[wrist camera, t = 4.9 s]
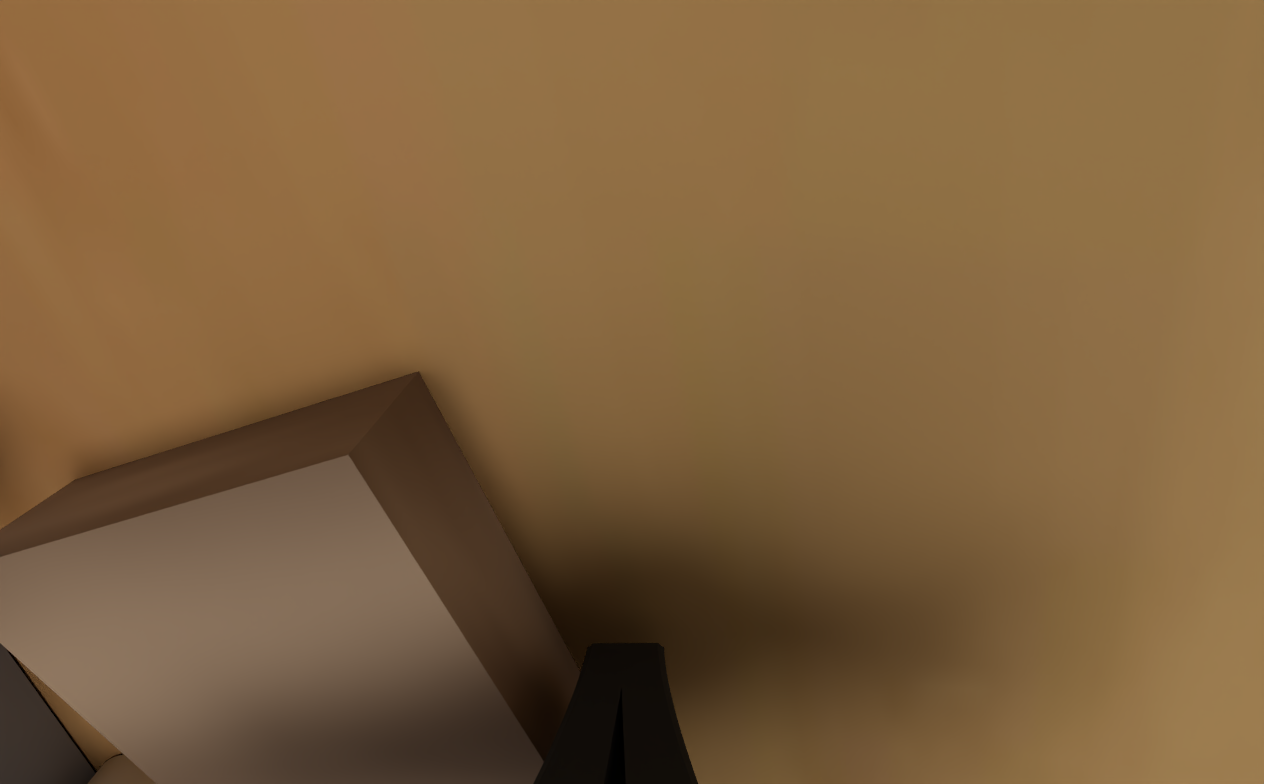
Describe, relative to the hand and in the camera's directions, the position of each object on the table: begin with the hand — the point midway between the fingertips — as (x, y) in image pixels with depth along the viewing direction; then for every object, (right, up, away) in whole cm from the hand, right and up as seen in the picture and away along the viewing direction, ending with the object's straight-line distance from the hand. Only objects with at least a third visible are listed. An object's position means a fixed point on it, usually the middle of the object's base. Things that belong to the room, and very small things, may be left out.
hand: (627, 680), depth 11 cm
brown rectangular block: (-5, 0, +2) cm, 5 cm away
